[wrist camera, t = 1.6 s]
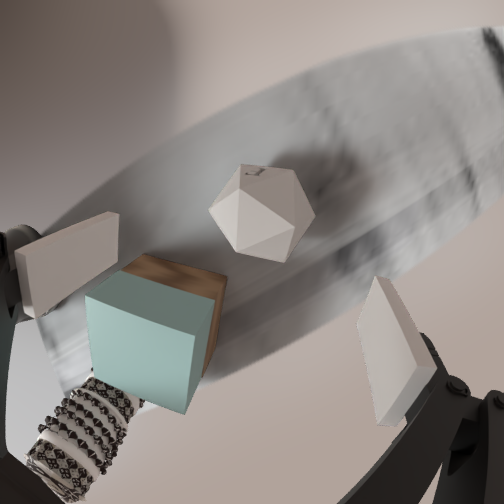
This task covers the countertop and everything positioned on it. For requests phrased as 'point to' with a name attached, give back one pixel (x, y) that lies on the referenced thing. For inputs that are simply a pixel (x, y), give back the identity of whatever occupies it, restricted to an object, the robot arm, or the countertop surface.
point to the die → (263, 211)
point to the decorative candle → (82, 438)
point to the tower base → (185, 287)
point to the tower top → (148, 338)
